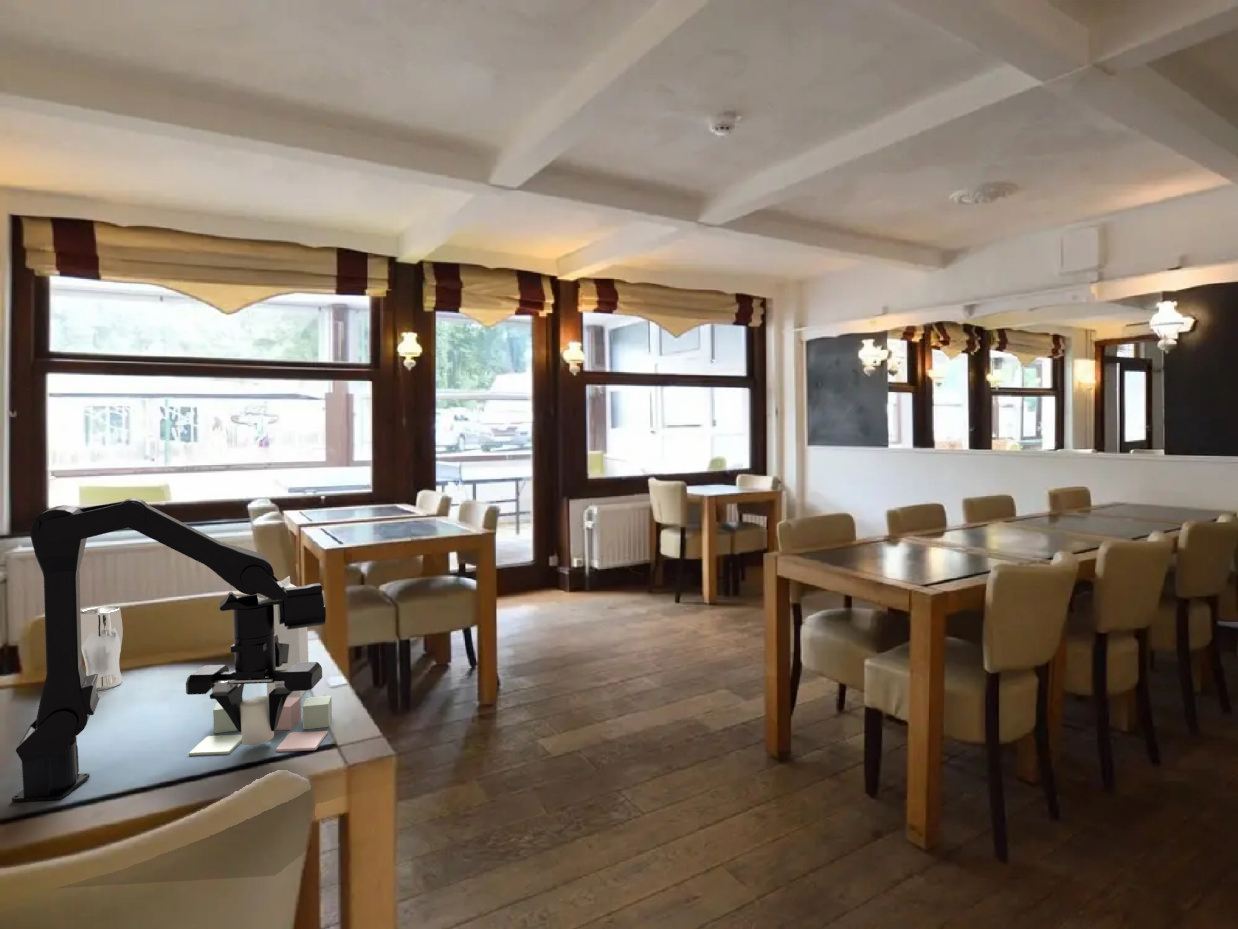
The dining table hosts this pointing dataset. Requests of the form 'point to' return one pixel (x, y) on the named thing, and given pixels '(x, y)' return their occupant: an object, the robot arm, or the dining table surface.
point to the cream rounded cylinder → (255, 721)
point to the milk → (290, 644)
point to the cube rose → (290, 713)
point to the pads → (229, 742)
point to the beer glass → (102, 644)
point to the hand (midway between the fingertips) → (257, 730)
